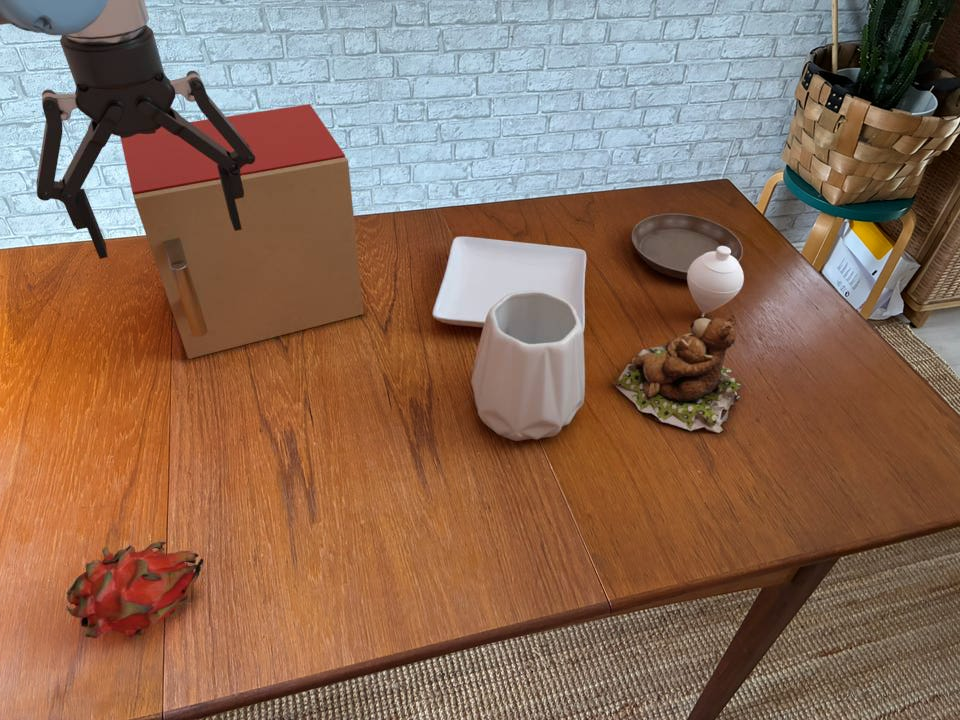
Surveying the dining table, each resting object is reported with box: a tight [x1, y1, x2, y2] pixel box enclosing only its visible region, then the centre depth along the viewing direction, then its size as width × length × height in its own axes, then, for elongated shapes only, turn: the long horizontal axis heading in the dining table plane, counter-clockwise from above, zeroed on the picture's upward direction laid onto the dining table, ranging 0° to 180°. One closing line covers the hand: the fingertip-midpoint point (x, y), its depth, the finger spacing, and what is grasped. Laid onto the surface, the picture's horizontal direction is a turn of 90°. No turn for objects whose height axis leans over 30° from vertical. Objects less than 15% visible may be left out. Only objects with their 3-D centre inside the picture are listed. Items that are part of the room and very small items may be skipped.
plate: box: [431, 236, 587, 333], centre depth 105 cm, size 21×21×3 cm
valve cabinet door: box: [132, 156, 365, 360], centre depth 88 cm, size 7×24×24 cm, turn 115°
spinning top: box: [686, 246, 745, 318], centre depth 100 cm, size 8×8×12 cm
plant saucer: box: [631, 213, 744, 281], centre depth 115 cm, size 18×18×3 cm
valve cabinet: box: [119, 103, 346, 196], centre depth 96 cm, size 16×24×24 cm, turn 115°
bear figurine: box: [613, 314, 742, 434], centre depth 89 cm, size 14×15×12 cm
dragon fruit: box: [66, 541, 205, 640], centre depth 66 cm, size 8×8×12 cm
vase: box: [470, 291, 586, 442], centre depth 84 cm, size 14×14×15 cm
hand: (171, 237), depth 75 cm, fingers open, 13 cm apart
